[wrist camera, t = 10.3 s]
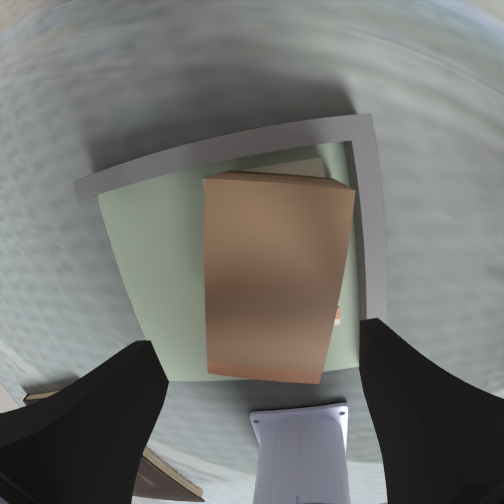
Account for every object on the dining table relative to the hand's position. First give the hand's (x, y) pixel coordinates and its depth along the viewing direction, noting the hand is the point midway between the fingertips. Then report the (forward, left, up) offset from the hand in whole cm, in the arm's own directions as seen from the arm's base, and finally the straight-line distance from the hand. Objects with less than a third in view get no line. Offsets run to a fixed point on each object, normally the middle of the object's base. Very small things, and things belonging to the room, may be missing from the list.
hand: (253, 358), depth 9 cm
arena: (-1, +2, -8) cm, 9 cm away
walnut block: (+1, -1, -8) cm, 8 cm away
